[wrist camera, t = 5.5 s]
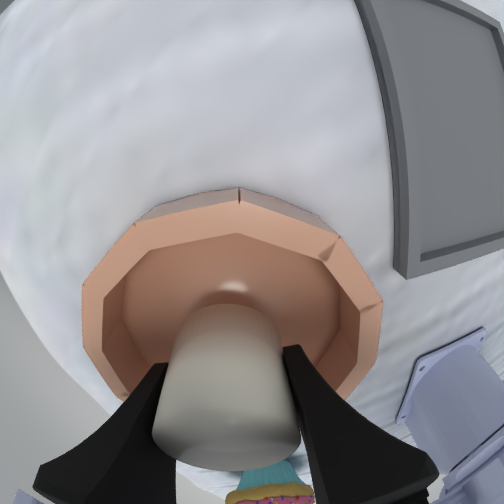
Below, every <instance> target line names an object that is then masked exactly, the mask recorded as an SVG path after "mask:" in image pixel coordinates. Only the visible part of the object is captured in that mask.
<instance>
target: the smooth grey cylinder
mask: <svg viewBox="0 0 504 504" xmlns="http://www.w3.org/2000/svg"><path fill="white" fill-rule="evenodd" d="M152 437H153V439H154V442H155V443H156V444H157V446H158V447H159V448H160V449H161V450H162V451H164V452H165V453H166V454H168V455H169V456H171V457H173V458H174V459H176V460H179V461H181V462H183V463H186V464H189V465H192V466H195V467H199V468H204V469H210V470H218V471H245V470H253V469H258V468H263V467H266V466H270V465H273V464H275V463H278V462H280V461H282V460H284V459H286V458H287V457H289V456H290V455H292V454H293V453H294V452H295V451H296V450H297V448H298V447H299V445H300V443H301V434H300V429H299V424H298V419H297V414H296V409H295V404H294V399H293V394H292V389H291V385H290V381H289V377H288V373H287V369H286V364H285V359H284V354H283V348H282V342H281V337H280V334H279V331H278V329H277V327H276V326H275V324H274V323H273V322H272V321H271V320H270V319H269V318H268V317H267V316H265V315H264V314H263V313H261V312H259V311H257V310H255V309H253V308H250V307H247V306H243V305H238V304H226V303H225V304H215V305H210V306H207V307H203V308H201V309H199V310H197V311H195V312H193V313H192V314H190V315H189V316H188V317H187V318H186V319H185V320H184V321H183V322H182V324H181V325H180V327H179V329H178V332H177V336H176V339H175V343H174V346H173V350H172V353H171V357H170V361H169V364H168V368H167V372H166V376H165V380H164V384H163V387H162V391H161V395H160V399H159V404H158V408H157V412H156V416H155V420H154V425H153V429H152Z"/></svg>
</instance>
